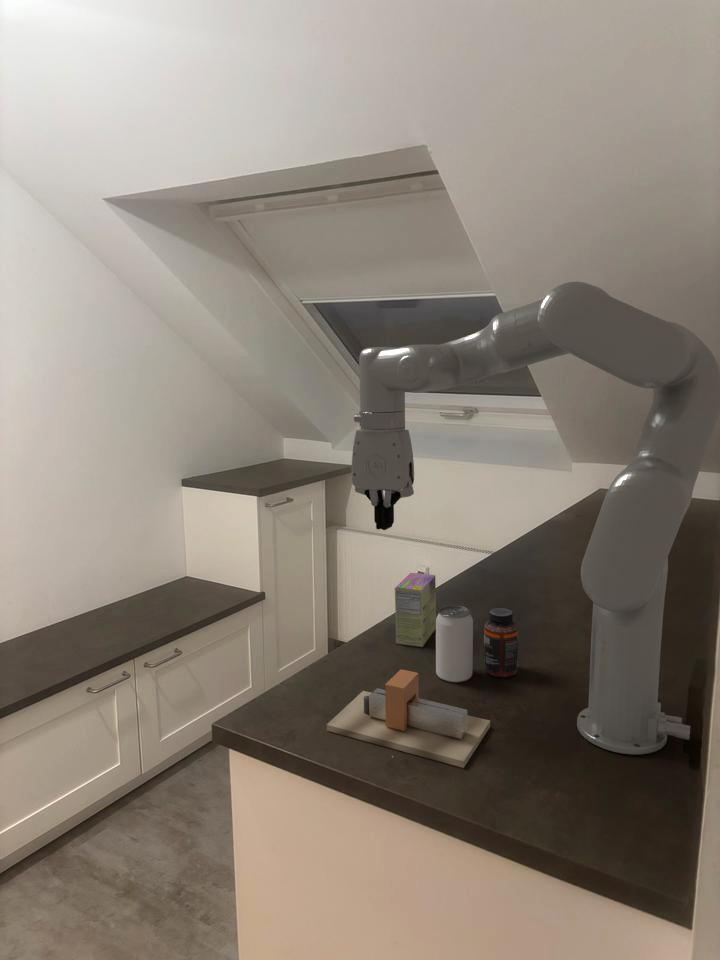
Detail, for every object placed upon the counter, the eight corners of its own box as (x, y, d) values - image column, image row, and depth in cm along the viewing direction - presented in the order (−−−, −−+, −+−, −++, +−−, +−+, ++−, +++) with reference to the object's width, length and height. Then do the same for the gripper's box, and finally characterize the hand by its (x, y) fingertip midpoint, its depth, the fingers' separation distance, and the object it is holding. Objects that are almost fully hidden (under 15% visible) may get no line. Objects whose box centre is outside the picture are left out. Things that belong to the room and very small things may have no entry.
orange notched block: (385, 726, 103) (385, 684, 102) (401, 709, 108) (400, 669, 107) (403, 730, 102) (403, 688, 101) (418, 713, 107) (418, 672, 106)
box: (410, 625, 145) (409, 571, 143) (436, 628, 143) (436, 574, 141) (394, 644, 136) (394, 587, 134) (422, 648, 134) (422, 590, 132)
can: (428, 675, 122) (428, 611, 120) (451, 663, 127) (451, 601, 125) (457, 687, 118) (457, 621, 116) (479, 674, 122) (480, 610, 120)
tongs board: (326, 730, 105) (326, 709, 104) (363, 696, 115) (362, 676, 115) (463, 768, 95) (463, 744, 94) (490, 726, 105) (490, 705, 104)
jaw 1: (369, 716, 106) (369, 695, 106) (372, 712, 107) (372, 692, 107) (461, 739, 99) (461, 717, 99) (464, 735, 100) (464, 713, 100)
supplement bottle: (522, 668, 124) (524, 609, 122) (510, 681, 119) (511, 620, 117) (491, 661, 127) (492, 603, 125) (478, 673, 123) (479, 613, 121)
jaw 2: (373, 711, 108) (373, 691, 107) (377, 708, 109) (377, 688, 108) (464, 734, 100) (464, 713, 100) (467, 731, 101) (467, 709, 101)
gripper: (333, 422, 115) (336, 528, 119) (414, 425, 108) (415, 537, 112) (354, 418, 122) (356, 519, 125) (432, 421, 115) (432, 527, 118)
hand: (384, 527), depth 118 cm, fingers closed
